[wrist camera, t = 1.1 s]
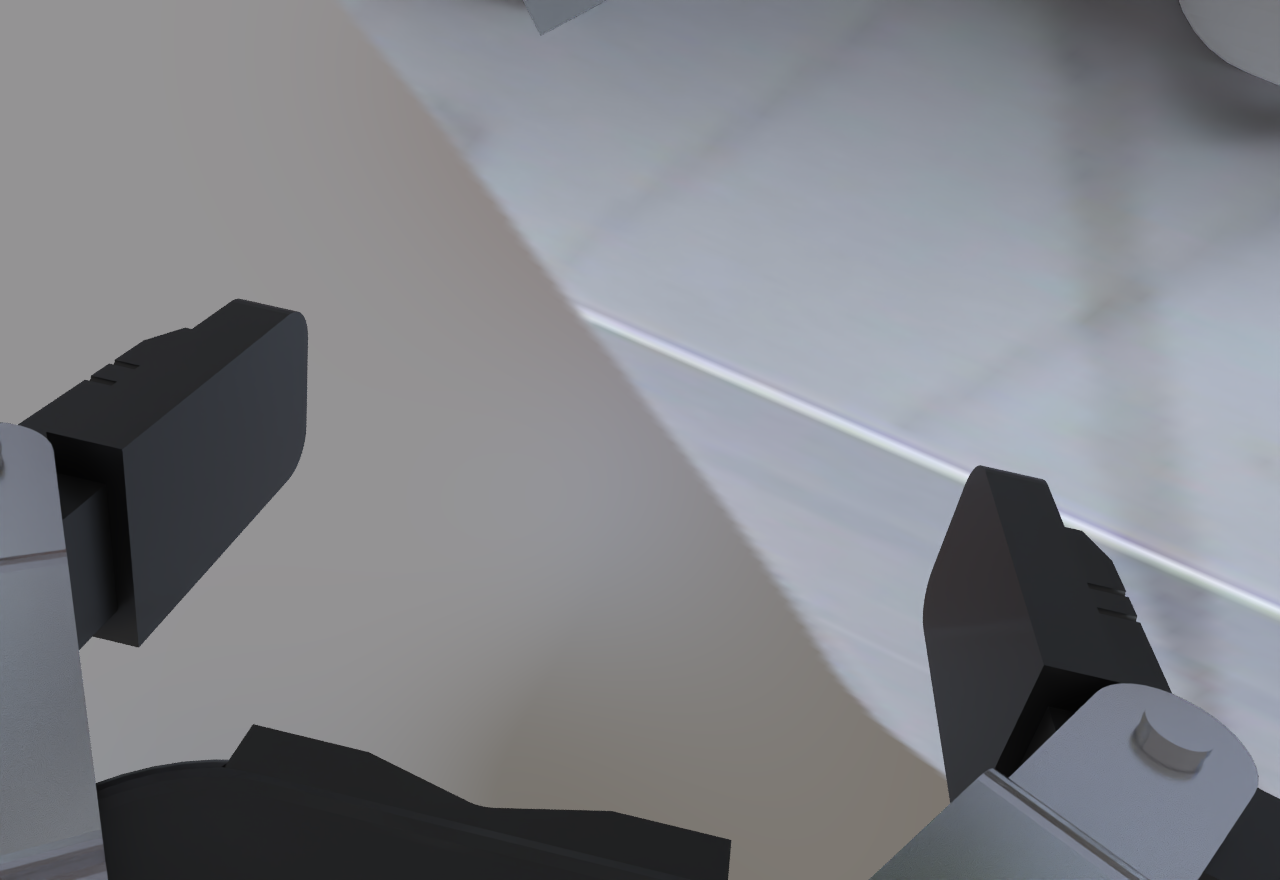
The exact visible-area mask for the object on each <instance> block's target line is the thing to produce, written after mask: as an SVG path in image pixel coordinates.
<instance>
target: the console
mask: <svg viewBox="0 0 1280 880" xmlns="http://www.w3.org/2000/svg"><path fill="white" fill-rule="evenodd" d="M604 1H606V0H523V2H524V4H525V6H526V8H527V10H528V12H529V14H530V16H531V18H532V20H533V22H534V24H535V26H536V27H537V29H538V31H539V33H540V35H543V34H545V33H547V32H549V31H551V30H553V29H554V28H556V27H558V26H560V25H562V24H564V23H566V22H567V21H569V20H571V19H573V18H575V17H577V16H578V15H580V14H582V13H584V12H586V11H588V10H589V9H591V8H593V7H595V6H597V5H598V4H600V3H602V2H604Z"/></svg>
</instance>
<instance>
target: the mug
mask: <svg viewBox="0 0 1280 880" xmlns="http://www.w3.org/2000/svg"><path fill="white" fill-rule="evenodd" d="M1179 3H1180V5H1181V8H1182V11H1183V13H1184V15H1185V16H1186V18H1187V20H1188V21H1189V23H1190V25H1191V27H1192V28H1193V30H1194V32H1195V33H1196V34H1197V35H1198V36H1199V37H1200V39H1201V40H1202V41H1203V42H1204V43H1205V44H1206V45H1207V47H1208V48H1209V49H1210V50H1212V51H1213V52H1214V53H1216V54H1217V55H1218V56H1219V57H1221V58H1222V59H1223V60H1225V61H1226V62H1227V63H1229V64H1231V65H1233V66H1235V67H1237V68H1239V69H1241V70H1243V71H1245V72H1247V73H1249V74H1252V75H1254V76H1257V77H1259V78H1262V79H1264V80H1266V81H1269V82H1271V83H1274V84H1276V85H1279V86H1280V0H1179Z"/></svg>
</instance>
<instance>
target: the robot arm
mask: <svg viewBox="0 0 1280 880" xmlns="http://www.w3.org/2000/svg"><path fill="white" fill-rule="evenodd" d="M307 354H308V331H307V324H306V320H305V318H304V316H303V315H302V314H301V313H300V312H297V311H292V310H288V309H283V308H278V307H274V306H270V305H265V304H261V303H256V302H252V301H247V300H243V299H235V300H233V301H231V302H230V303H228V304H227V305H226V306H224V307H223V308H221V309H220V310H218V311H217V312H216V313H214V314H213V315H211V316H210V317H208V318H207V319H206V320H204V321H203V322H202V323H200V324H198V325H197V326H196V327H194V328H193V329H189V328H183V329H180V330H176V331H173V332H170V333H167V334H164V335H160V336H157V337H154V338H151V339H148V340H144V341H143V342H141V343H139V344H138V345H136V346H135V347H133V348H132V349H130V350H129V351H127V352H126V353H124V354H123V355H121V356H120V357H118V358H117V359H115V363H114V365H112V364H108V365H106V366H105V367H104V368H102V369H100V370H99V371H97V372H96V373H94V374H93V375H91V379H90V381H88V380H84V381H82V382H81V383H79V384H78V385H76V386H75V387H73V388H72V389H71V390H69V391H68V392H66V393H65V394H63V395H62V396H60V397H59V398H57V399H56V400H54V401H53V402H51V403H50V404H48V405H47V406H45V407H44V408H42V409H41V410H39V411H38V412H36V413H35V414H33V415H32V416H30V417H29V418H27V419H26V420H24V421H23V422H21V423H20V424H18V425H15V424H10V423H3V422H0V880H728V873H729V872H728V871H729V860H730V848H731V840H729V839H725V838H720V837H716V836H712V835H708V834H704V833H700V832H696V831H691V830H687V829H683V828H679V827H675V826H670V825H667V824H663V823H659V822H654V821H650V820H646V819H642V818H638V817H634V816H630V815H626V814H621V813H617V812H613V811H587V810H550V809H513V808H511V809H510V808H488V807H483V806H478V805H475V804H473V803H470V802H468V801H466V800H464V799H462V798H460V797H458V796H455V795H454V794H452V793H450V792H447V791H445V790H444V789H442V788H440V787H437V786H435V785H434V784H432V783H429V782H427V781H426V780H424V779H421V778H419V777H417V776H415V775H413V774H411V773H409V772H407V771H405V770H403V769H401V768H399V767H397V766H395V765H393V764H391V763H389V762H387V761H385V760H383V759H381V758H379V757H377V756H375V755H373V754H371V753H369V752H365V751H361V750H357V749H353V748H349V747H345V746H341V745H337V744H332V743H328V742H324V741H320V740H316V739H311V738H307V737H304V736H299V735H295V734H291V733H287V732H283V731H279V730H274V729H270V728H266V727H262V726H258V725H254V724H253V725H252V727H251V728H250V730H249V731H248V733H247V734H246V736H245V737H244V739H243V740H242V742H241V743H240V745H239V746H238V748H237V749H236V751H235V752H234V753H233V755H232V757H231V758H230V759H229V760H201V761H187V762H179V763H173V764H167V765H160V766H154V767H150V768H146V769H142V770H138V771H134V772H130V773H126V774H122V775H119V776H116V777H113V778H110V779H107V780H104V781H101V782H98V783H95V775H94V767H93V759H92V751H91V743H90V735H89V728H88V719H87V711H86V703H85V696H84V687H83V679H82V671H81V663H80V656H79V650H80V649H81V648H82V647H83V646H84V645H85V644H86V642H87V641H88V640H89V639H90V638H91V637H92V636H93V637H97V638H102V639H106V640H110V641H114V642H118V643H123V644H126V645H131V646H135V647H140V646H141V644H142V643H143V642H144V641H145V640H146V639H147V638H148V636H149V635H150V634H151V633H152V632H153V631H154V630H155V628H156V627H157V626H158V625H159V624H160V623H161V622H162V621H163V620H164V619H165V617H166V616H167V615H168V614H169V613H170V612H171V611H172V610H173V609H174V607H175V606H176V605H177V604H178V603H179V602H180V601H181V600H182V598H183V597H184V596H185V595H186V594H187V593H188V592H189V591H190V589H191V588H192V587H193V586H194V585H195V583H197V582H198V580H199V579H200V578H201V577H202V576H203V575H204V574H205V573H206V572H207V570H208V569H209V568H210V567H211V566H212V565H213V563H214V562H215V561H216V560H217V559H218V558H219V557H220V556H221V554H222V553H223V552H224V551H225V550H226V549H227V548H228V547H229V546H230V545H231V543H232V542H233V541H234V540H235V539H236V538H237V537H238V535H240V533H241V532H242V531H243V530H244V529H245V528H246V527H247V526H248V524H249V523H250V522H251V521H252V520H253V519H254V518H255V516H256V515H257V514H258V513H259V512H260V511H261V510H262V509H263V507H264V506H265V505H266V504H267V503H268V502H269V501H270V500H271V499H272V497H273V496H274V495H275V494H276V493H277V492H278V491H279V490H280V488H281V487H282V486H283V485H284V484H285V483H286V482H287V480H289V478H290V477H291V475H292V474H293V472H294V471H295V469H296V467H297V464H298V462H299V460H300V457H301V454H302V450H303V446H304V442H305V435H306V413H307V412H306V411H307V356H308V355H307ZM1125 592H1126V590H1125V588H1124V586H1123V584H1122V582H1121V579H1120V577H1119V575H1118V573H1117V571H1116V568H1115V566H1114V564H1113V562H1112V560H1111V559H1110V558H1109V557H1108V556H1107V555H1106V554H1105V553H1104V552H1103V551H1102V550H1101V549H1100V548H1099V547H1098V546H1097V545H1096V544H1095V543H1094V542H1093V541H1092V540H1091V539H1090V538H1089V537H1088V536H1087V535H1086V534H1085V533H1084V532H1083V531H1080V530H1076V529H1071V528H1067V527H1064V524H1063V522H1062V519H1061V517H1060V514H1059V512H1058V509H1057V507H1056V504H1055V502H1054V499H1053V497H1052V494H1051V492H1050V489H1049V487H1048V485H1047V483H1046V481H1045V480H1043V479H1039V478H1034V477H1030V476H1025V475H1021V474H1017V473H1012V472H1008V471H1003V470H999V469H994V468H990V467H985V466H981V465H980V466H977V467H976V468H975V469H974V470H973V471H972V473H971V474H970V476H969V478H968V480H967V482H966V484H965V487H964V489H963V492H962V494H961V497H960V500H959V502H958V505H957V507H956V510H955V512H954V515H953V518H952V520H951V523H950V525H949V528H948V531H947V533H946V536H945V538H944V541H943V544H942V546H941V549H940V551H939V554H938V557H937V559H936V562H935V564H934V567H933V569H932V572H931V575H930V578H929V582H928V585H927V589H926V594H925V600H924V608H923V629H924V635H925V642H926V648H927V655H928V661H929V668H930V674H931V681H932V687H933V694H934V700H935V707H936V713H937V720H938V726H939V733H940V739H941V746H942V752H943V759H944V765H945V772H946V778H947V784H948V791H949V798H950V804H949V805H948V806H947V807H946V808H945V809H944V810H943V811H942V812H941V813H940V814H939V815H938V816H936V817H935V818H934V819H933V820H932V821H931V822H930V823H929V824H928V825H927V826H926V827H925V828H924V829H923V830H922V831H920V832H919V833H918V834H917V835H916V836H915V837H914V838H913V839H912V840H911V841H910V842H909V843H908V844H907V845H906V846H904V847H903V848H902V849H901V850H900V851H899V852H898V853H897V854H896V855H895V856H894V857H893V858H892V859H890V861H889V862H887V863H886V864H885V865H884V866H883V867H882V868H881V869H880V870H879V871H878V872H877V873H876V874H874V876H873V877H871V878H870V879H869V880H1280V799H1279V798H1277V797H1275V796H1273V795H1271V794H1269V793H1267V792H1264V791H1263V790H1261V789H1259V788H1257V787H1258V778H1259V776H1258V772H1257V768H1256V765H1255V763H1254V761H1253V759H1252V757H1251V755H1250V754H1249V752H1248V751H1247V749H1246V748H1245V746H1244V745H1243V744H1242V743H1241V741H1240V740H1239V739H1238V738H1237V737H1236V736H1235V735H1234V734H1233V733H1232V732H1231V731H1230V730H1229V729H1228V728H1227V727H1226V726H1225V725H1223V724H1222V723H1221V722H1220V721H1218V720H1217V719H1216V718H1215V717H1213V716H1212V715H1210V714H1209V713H1207V712H1206V711H1204V710H1203V709H1201V708H1200V707H1198V706H1196V705H1194V704H1192V703H1191V702H1189V701H1187V700H1185V699H1183V698H1181V697H1178V696H1176V695H1174V694H1172V692H1171V690H1170V688H1169V686H1168V683H1167V681H1166V679H1165V677H1164V674H1163V672H1162V670H1161V668H1160V666H1159V663H1158V661H1157V659H1156V657H1155V655H1154V652H1153V650H1152V648H1151V646H1150V644H1149V641H1148V639H1147V637H1146V635H1145V632H1144V630H1143V628H1142V626H1141V624H1140V623H1139V622H1136V618H1137V615H1136V613H1135V610H1134V608H1133V606H1132V604H1131V602H1130V599H1129V597H1125Z"/></svg>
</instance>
